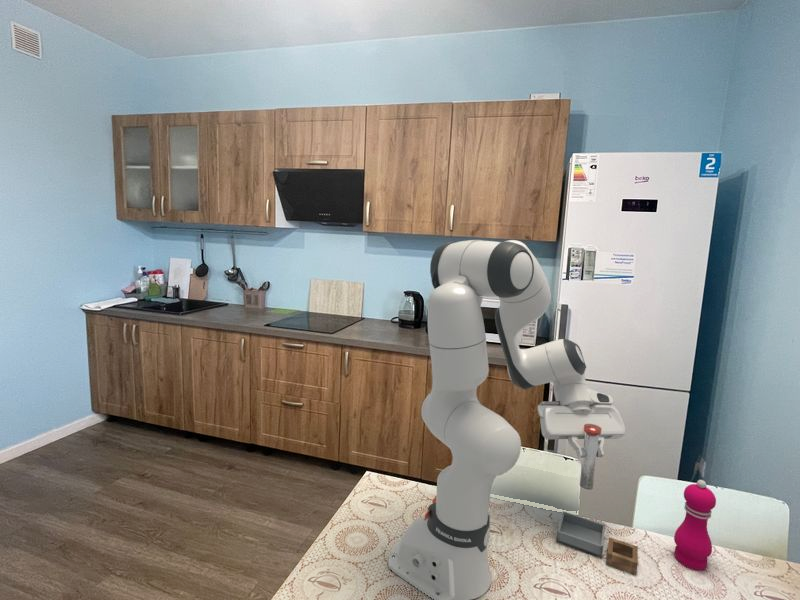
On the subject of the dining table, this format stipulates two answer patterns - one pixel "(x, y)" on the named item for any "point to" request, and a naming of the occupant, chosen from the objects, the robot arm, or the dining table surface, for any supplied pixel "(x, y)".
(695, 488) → the pepper mill
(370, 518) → the dining table surface
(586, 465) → the pin
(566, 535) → the tray
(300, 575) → the dining table surface
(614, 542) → the socket block
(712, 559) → the dining table surface
